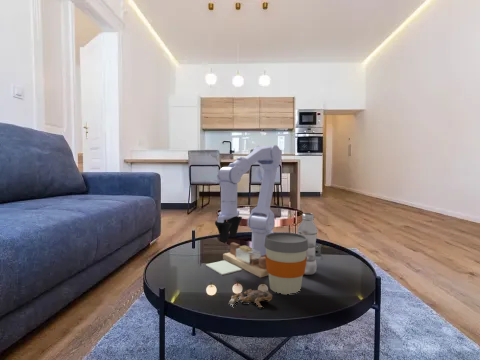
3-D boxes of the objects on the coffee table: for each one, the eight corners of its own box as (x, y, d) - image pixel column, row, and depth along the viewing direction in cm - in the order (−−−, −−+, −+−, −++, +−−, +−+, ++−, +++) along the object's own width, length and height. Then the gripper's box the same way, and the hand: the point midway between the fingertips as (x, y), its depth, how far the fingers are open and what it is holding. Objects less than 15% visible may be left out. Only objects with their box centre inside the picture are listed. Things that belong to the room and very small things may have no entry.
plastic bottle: (317, 271, 98) (318, 212, 97) (315, 278, 92) (317, 216, 91) (298, 268, 100) (299, 211, 99) (295, 275, 94) (296, 214, 93)
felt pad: (224, 261, 107) (224, 260, 107) (242, 270, 98) (242, 269, 98) (205, 265, 103) (205, 264, 103) (222, 275, 94) (222, 274, 94)
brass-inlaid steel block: (246, 255, 108) (246, 244, 108) (260, 261, 101) (260, 249, 101) (235, 258, 105) (235, 246, 105) (249, 264, 98) (249, 252, 98)
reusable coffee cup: (303, 300, 77) (305, 245, 76) (258, 293, 81) (259, 240, 80) (309, 282, 88) (310, 234, 88) (269, 277, 93) (270, 230, 92)
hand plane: (237, 255, 114) (238, 240, 114) (276, 272, 96) (276, 255, 96) (222, 259, 110) (223, 243, 110) (260, 277, 92) (260, 259, 92)
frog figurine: (280, 297, 79) (280, 284, 79) (266, 318, 68) (266, 302, 68) (241, 290, 84) (242, 277, 84) (223, 308, 73) (223, 293, 73)
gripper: (227, 198, 110) (226, 233, 110) (209, 202, 96) (209, 243, 97) (244, 199, 107) (244, 235, 108) (228, 204, 94) (228, 245, 94)
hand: (228, 239), depth 102 cm, fingers open, 7 cm apart
